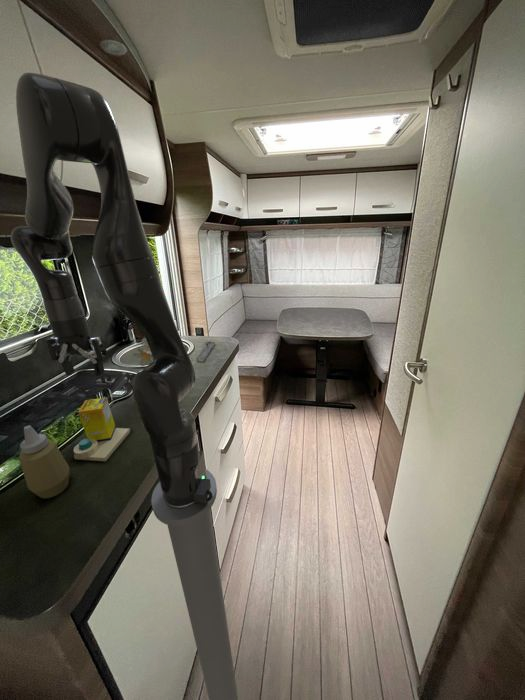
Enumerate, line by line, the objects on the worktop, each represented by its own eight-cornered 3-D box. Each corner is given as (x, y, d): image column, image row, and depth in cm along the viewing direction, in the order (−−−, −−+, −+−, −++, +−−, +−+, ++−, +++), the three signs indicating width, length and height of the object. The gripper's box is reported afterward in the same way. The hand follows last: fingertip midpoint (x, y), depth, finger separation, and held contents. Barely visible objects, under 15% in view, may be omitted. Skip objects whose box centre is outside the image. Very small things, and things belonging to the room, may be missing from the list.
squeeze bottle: (78, 487, 66) (53, 426, 59) (36, 510, 61) (4, 446, 54) (69, 469, 71) (46, 411, 64) (30, 488, 66) (0, 427, 59)
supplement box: (94, 430, 84) (84, 399, 79) (116, 427, 85) (107, 396, 81) (88, 444, 78) (77, 411, 74) (111, 440, 80) (101, 408, 75)
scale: (102, 430, 86) (100, 422, 85) (130, 431, 85) (128, 423, 84) (71, 461, 74) (68, 452, 73) (104, 463, 73) (101, 454, 72)
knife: (192, 361, 130) (203, 361, 129) (192, 361, 130) (203, 361, 129) (207, 342, 153) (216, 342, 152) (207, 341, 153) (216, 341, 152)
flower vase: (140, 410, 95) (124, 342, 85) (160, 383, 112) (148, 324, 102) (178, 410, 94) (166, 342, 84) (192, 383, 111) (183, 323, 101)
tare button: (84, 443, 77) (83, 438, 76) (93, 443, 76) (91, 438, 76) (78, 450, 74) (76, 445, 74) (86, 450, 74) (85, 445, 73)
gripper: (27, 320, 65) (50, 380, 71) (82, 319, 63) (101, 381, 70) (52, 311, 72) (71, 367, 78) (103, 311, 70) (118, 368, 77)
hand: (85, 374), depth 74 cm, fingers open, 8 cm apart
